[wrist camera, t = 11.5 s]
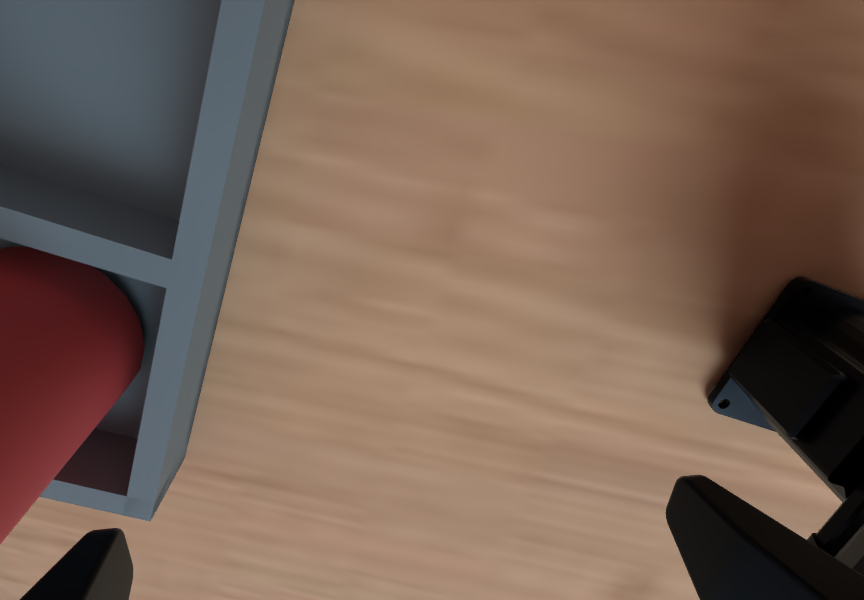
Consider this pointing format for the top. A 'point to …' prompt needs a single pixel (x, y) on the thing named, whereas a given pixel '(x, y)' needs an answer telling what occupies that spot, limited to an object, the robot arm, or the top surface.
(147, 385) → the divided can tray
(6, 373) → the beer can
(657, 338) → the top surface
